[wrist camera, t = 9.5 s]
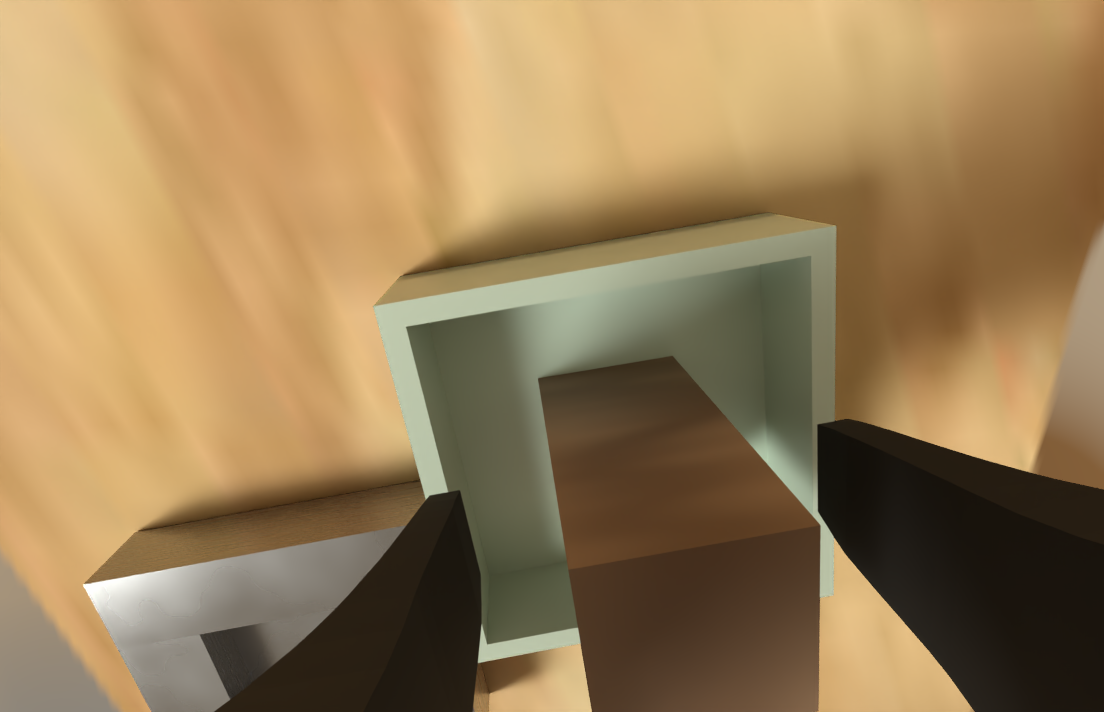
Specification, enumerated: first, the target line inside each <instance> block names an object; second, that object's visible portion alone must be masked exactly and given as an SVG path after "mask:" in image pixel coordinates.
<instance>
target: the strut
mask: <svg viewBox="0 0 1104 712" xmlns="http://www.w3.org/2000/svg"><path fill="white" fill-rule="evenodd" d="M538 383H539V389H540V396H541V402H542V408H543V414H544V421H545V427H546V433H547V439H548V446H549V452H550V458H551V465H552V471H553V477H554V483H555V490H556V496H557V502H558V509H559V515H560V521H561V527H562V534H563V540H564V546H565V553H566V559H567V565H568V571H569V577H570V583H571V589H572V595H573V601H574V607H575V613H576V619H577V625H578V631H579V637H580V643H581V649H582V655H583V661H584V666H585V672H586V678H587V684H588V690H589V696H590V702H591V708H592V712H817V711H818V699H819V619H820V540H821V525H820V524H819V523H818V522H817V520H816V519H815V518H814V517H813V516H812V515H811V514H810V512H809V511H808V510H807V509H806V508H805V507H804V506H803V504H802V503H801V502H800V501H799V500H798V499H797V497H796V496H795V495H794V494H793V493H792V492H791V491H790V489H789V488H788V487H787V486H786V485H785V484H784V483H783V481H782V480H781V479H780V478H779V477H778V476H777V475H776V473H775V472H774V471H773V470H772V469H771V468H770V467H769V465H768V464H767V463H766V462H765V461H764V460H763V459H762V457H761V456H760V455H759V454H758V453H757V452H756V451H755V449H754V448H753V447H752V446H751V445H750V444H749V443H748V441H747V440H746V439H745V438H744V437H743V436H742V435H741V433H740V432H739V431H738V430H737V429H736V428H735V427H734V425H733V424H732V423H731V422H730V421H729V420H728V419H727V417H726V416H725V415H724V414H723V413H722V412H721V411H720V409H719V408H718V407H717V406H716V405H715V404H714V403H713V401H712V400H711V399H710V398H709V397H708V396H707V395H706V393H705V392H704V391H703V390H702V389H701V388H700V387H699V385H698V384H697V383H696V382H695V381H694V380H693V379H692V377H691V376H690V375H689V374H688V373H687V372H686V371H685V369H684V368H683V367H682V366H681V365H680V364H679V363H678V361H677V360H676V359H675V358H674V357H673V356H669V357H663V358H657V359H651V360H645V361H639V362H633V363H627V364H621V365H615V366H609V367H603V368H597V369H591V370H585V371H579V372H573V373H567V374H561V375H555V376H549V377H543V378H538Z"/></svg>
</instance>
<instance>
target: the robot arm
mask: <svg viewBox="0 0 1104 712" xmlns="http://www.w3.org/2000/svg"><path fill="white" fill-rule="evenodd" d="M817 474H818V513H819V514H820V516H821V517H822V519H823V521H824V522H825V524H826V525H827V527H828V529H829V530H830V532H831V533H832V535H833V536H834V538H835V539H836V541H837V542H838V544H839V545H840V547H841V548H842V550H843V551H844V553H845V554H846V555H847V556H848V558H849V559H850V560H851V561H852V562H853V564H854V565H855V566H856V567H857V568H858V570H859V571H860V572H861V573H862V574H863V575H864V577H865V578H866V579H867V580H868V581H869V582H870V584H871V585H872V586H873V587H874V588H875V589H876V591H877V592H878V593H879V594H880V595H881V596H882V597H883V599H884V600H885V601H886V602H887V603H888V604H889V605H890V607H891V608H892V609H893V610H894V611H895V612H896V614H897V615H898V616H899V617H900V618H901V619H902V620H903V622H904V623H905V624H906V625H907V626H908V627H909V628H910V630H911V631H912V632H913V633H914V634H915V635H916V636H917V638H918V639H919V640H920V641H921V642H922V643H923V645H924V646H925V647H926V648H927V649H928V650H929V651H930V653H931V654H932V655H933V656H934V658H935V659H936V660H937V661H938V663H939V664H940V665H941V666H942V668H943V669H944V670H945V671H946V673H947V674H948V675H949V676H950V678H951V679H952V681H953V682H954V683H955V685H956V686H957V688H958V689H959V690H960V692H961V693H962V695H963V696H964V697H965V699H966V700H967V701H968V703H969V704H970V706H971V707H972V708H973V710H974V711H975V712H1104V490H1103V489H1098V488H1093V487H1089V486H1085V485H1080V484H1075V483H1070V482H1066V481H1062V480H1057V479H1053V478H1049V477H1045V476H1041V475H1037V474H1033V473H1029V472H1026V471H1022V470H1018V469H1015V468H1011V467H1008V466H1004V465H1000V464H997V463H993V462H989V461H986V460H983V459H979V458H976V457H973V456H969V455H966V454H963V453H960V452H956V451H953V450H950V449H947V448H944V447H940V446H937V445H934V444H931V443H928V442H925V441H922V440H919V439H915V438H912V437H909V436H906V435H903V434H900V433H897V432H894V431H891V430H887V429H884V428H881V427H877V426H874V425H871V424H867V423H863V422H859V421H855V420H850V419H844V420H838V421H833V422H827V423H822V424H817ZM481 625H482V600H481V573H480V569H479V565H478V561H477V557H476V553H475V549H474V545H473V541H472V537H471V532H470V528H469V524H468V520H467V516H466V512H465V508H464V504H463V500H462V496H461V492H460V490H457V491H451V492H446V493H440V494H435V495H429V497H428V498H427V499H426V500H425V502H424V503H423V504H422V505H421V507H420V508H419V509H418V511H417V512H416V513H415V515H414V516H413V517H412V519H411V520H410V521H409V523H408V524H407V525H406V526H405V528H404V529H403V530H402V532H401V533H400V534H399V536H398V537H397V538H396V539H395V541H394V542H393V543H392V545H391V546H390V547H389V548H388V550H387V551H386V552H385V553H384V555H383V556H382V557H381V558H380V560H379V561H378V562H377V563H376V564H375V565H374V566H373V568H372V569H371V570H370V571H369V572H368V573H367V574H366V576H365V577H364V578H363V579H362V580H361V581H360V582H359V583H358V585H357V586H356V587H355V588H354V589H353V590H352V591H351V593H350V594H349V595H348V596H347V597H346V598H345V599H344V600H343V601H342V602H341V603H340V604H339V605H338V606H337V607H336V608H335V609H334V610H333V611H332V612H331V613H330V614H329V615H328V616H327V617H326V618H325V619H324V620H323V621H322V622H321V623H320V624H319V625H318V626H317V627H316V628H315V629H314V630H313V631H312V632H311V633H310V634H309V635H307V636H306V637H305V638H304V639H303V640H302V641H301V642H300V643H299V644H298V645H297V646H295V647H294V648H293V649H292V650H291V651H290V652H288V653H287V654H286V655H285V656H283V657H282V658H281V659H280V660H279V661H277V662H276V663H275V664H274V665H273V666H271V667H270V668H269V669H268V670H267V671H265V672H264V673H263V674H262V675H261V676H259V677H258V678H257V679H256V680H254V681H253V682H252V683H251V684H250V685H248V686H247V687H246V688H245V689H243V690H242V691H241V692H240V693H238V694H237V695H236V696H234V697H233V698H232V699H230V700H229V701H228V702H226V703H225V704H224V705H222V706H221V707H220V708H218V709H217V710H215V711H214V712H473V703H474V694H475V684H476V675H477V665H478V656H479V646H480V636H481Z"/></svg>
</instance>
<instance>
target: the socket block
mask: <svg viewBox="0 0 1104 712" xmlns="http://www.w3.org/2000/svg"><path fill="white" fill-rule="evenodd" d="M425 500H426V499H425V495H424V491H423V488H422V484H421V480H419V481H414V482H408V483H403V484H397V485H392V486H386V487H381V488H375V489H370V490H364V491H359V492H354V493H348V494H343V495H337V496H332V497H326V498H321V499H315V500H310V501H304V502H299V503H293V504H288V505H282V506H277V507H271V508H266V509H260V510H255V511H249V512H244V513H238V514H233V515H227V516H222V517H216V518H211V519H205V520H200V521H194V522H189V523H183V524H178V525H172V526H167V527H162V528H156V529H151V530H145V531H140V532H135V533H134V534H133V535H132V536H131V537H130V538H129V539H128V540H127V541H126V542H125V543H124V544H123V545H122V546H121V547H120V548H119V549H118V550H117V551H116V552H115V553H114V554H113V555H112V556H111V557H110V558H109V559H108V560H107V561H106V562H105V563H104V564H103V565H102V566H101V567H100V568H99V569H98V570H97V571H96V572H95V573H94V574H93V575H92V576H91V577H90V578H89V579H88V580H87V581H86V582H85V583H84V584H83V586H84V587H85V589H86V591H87V593H88V595H89V597H90V599H91V600H92V602H93V604H94V606H95V608H96V610H97V612H98V613H99V615H100V617H101V619H102V621H103V623H104V625H105V626H106V628H107V630H108V632H109V634H110V636H111V638H112V639H113V641H114V643H115V645H116V647H117V649H118V651H119V652H120V654H121V656H122V658H123V660H124V662H125V664H126V665H127V667H128V669H129V671H130V673H131V675H132V677H133V678H134V680H135V682H136V684H137V686H138V688H139V690H140V691H141V693H142V695H143V697H144V699H145V701H146V703H147V704H148V706H149V708H150V710H151V712H214V711H215V710H217V709H218V708H220V707H221V706H222V705H224V704H225V703H226V702H228V701H229V700H230V699H232V698H233V697H234V696H236V695H237V694H238V693H240V692H241V691H242V690H243V689H245V688H246V687H247V686H248V685H250V684H251V683H252V682H253V681H254V680H256V679H257V678H258V677H259V676H261V675H262V674H263V673H264V672H265V671H267V670H268V669H269V668H270V667H271V666H273V665H274V664H275V663H276V662H277V661H279V660H280V659H281V658H282V657H283V656H285V655H286V654H287V653H288V652H290V651H291V650H292V649H293V648H294V647H295V646H297V645H298V644H299V643H300V642H301V641H302V640H303V639H304V638H305V637H306V636H307V635H309V634H310V633H311V632H312V631H313V630H314V629H315V628H316V627H317V626H318V625H319V624H320V623H321V622H322V621H323V620H324V619H325V618H326V617H327V616H328V615H329V614H330V613H331V612H332V611H333V610H334V609H335V608H336V607H337V606H338V605H339V604H340V603H341V602H342V601H343V600H344V599H345V598H346V597H347V596H348V595H349V594H350V593H351V591H352V590H353V589H354V588H355V587H356V586H357V585H358V583H359V582H360V581H361V580H362V579H363V578H364V577H365V576H366V574H367V573H368V572H369V571H370V570H371V569H372V568H373V566H374V565H375V564H376V563H377V562H378V561H379V560H380V558H381V557H382V556H383V555H384V553H385V552H386V551H387V550H388V548H389V547H390V546H391V545H392V543H393V542H394V541H395V539H396V538H397V537H398V536H399V534H400V533H401V532H402V530H403V529H404V528H405V526H406V525H407V524H408V523H409V521H410V520H411V519H412V517H413V516H414V515H415V513H416V512H417V511H418V509H419V508H420V507H421V505H422V504H423V503H424V502H425ZM473 712H489V692H488V689H487V685H486V681H485V677H484V674H483V670H482V666H481V663H478V665H477V675H476V684H475V694H474V703H473Z"/></svg>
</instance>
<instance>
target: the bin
mask: <svg viewBox="0 0 1104 712" xmlns="http://www.w3.org/2000/svg"><path fill="white" fill-rule="evenodd" d="M373 307H374V311H375V315H376V318H377V322H378V326H379V330H380V333H381V337H382V341H383V344H384V348H385V352H386V355H387V359H388V363H389V366H390V370H391V374H392V377H393V381H394V385H395V388H396V392H397V396H398V399H399V403H400V407H401V410H402V414H403V418H404V421H405V425H406V429H407V432H408V436H409V440H410V443H411V447H412V451H413V454H414V458H415V462H416V465H417V469H418V473H419V476H420V480H421V484H422V488H423V491H424V495H425V499H427V498H428V497H429V495H435V494H440V493H446V492H451V491H457V490H460V492H461V496H462V500H463V504H464V508H465V512H466V516H467V520H468V524H469V528H470V532H471V537H472V541H473V545H474V549H475V553H476V557H477V561H478V565H479V569H480V573H481V600H482V625H481V636H480V646H479V656H478V663H481V662H486V661H491V660H497V659H502V658H507V657H512V656H518V655H523V654H528V653H533V652H538V651H544V650H549V649H554V648H559V647H565V646H570V645H575V644H580V637H579V631H578V625H577V619H576V613H575V607H574V601H573V595H572V589H571V583H570V577H569V571H568V565H567V559H566V553H565V546H564V540H563V534H562V527H561V521H560V515H559V509H558V502H557V496H556V490H555V483H554V477H553V471H552V465H551V458H550V452H549V446H548V439H547V433H546V427H545V421H544V414H543V408H542V402H541V396H540V389H539V383H538V378H543V377H549V376H555V375H561V374H567V373H573V372H579V371H585V370H591V369H597V368H603V367H609V366H615V365H621V364H627V363H633V362H639V361H645V360H651V359H657V358H663V357H669V356H673V357H674V358H675V359H676V360H677V361H678V363H679V364H680V365H681V366H682V367H683V368H684V369H685V371H686V372H687V373H688V374H689V375H690V376H691V377H692V379H693V380H694V381H695V382H696V383H697V384H698V385H699V387H700V388H701V389H702V390H703V391H704V392H705V393H706V395H707V396H708V397H709V398H710V399H711V400H712V401H713V403H714V404H715V405H716V406H717V407H718V408H719V409H720V411H721V412H722V413H723V414H724V415H725V416H726V417H727V419H728V420H729V421H730V422H731V423H732V424H733V425H734V427H735V428H736V429H737V430H738V431H739V432H740V433H741V435H742V436H743V437H744V438H745V439H746V440H747V441H748V443H749V444H750V445H751V446H752V447H753V448H754V449H755V451H756V452H757V453H758V454H759V455H760V456H761V457H762V459H763V460H764V461H765V462H766V463H767V464H768V465H769V467H770V468H771V469H772V470H773V471H774V472H775V473H776V475H777V476H778V477H779V478H780V479H781V480H782V481H783V483H784V484H785V485H786V486H787V487H788V488H789V489H790V491H791V492H792V493H793V494H794V495H795V496H796V497H797V499H798V500H799V501H800V502H801V503H802V504H803V506H804V507H805V508H806V509H807V510H808V511H809V512H810V514H811V515H812V516H813V517H814V518H815V519H816V520H817V522H818V523H819V524H820V525H821V540H820V598H822V597H827V596H832V595H834V536H833V535H832V533H831V532H830V530H829V529H828V527H827V525H826V524H825V522H824V521H823V519H822V517H821V516H820V514H819V513H818V474H817V424H822V423H827V422H833V421H835V334H836V225H831V224H826V223H820V222H815V221H810V220H805V219H799V218H794V217H789V216H784V215H778V214H773V213H763V214H757V215H751V216H745V217H739V218H734V219H728V220H722V221H716V222H711V223H705V224H699V225H693V226H687V227H682V228H676V229H670V230H664V231H659V232H653V233H647V234H641V235H636V236H630V237H624V238H618V239H612V240H607V241H601V242H595V243H589V244H584V245H578V246H572V247H566V248H561V249H555V250H549V251H543V252H537V253H532V254H526V255H520V256H514V257H509V258H503V259H497V260H491V261H485V262H480V263H474V264H468V265H462V266H457V267H451V268H445V269H439V270H434V271H428V272H422V273H416V274H410V275H405V276H400V277H399V278H398V279H397V280H396V282H395V283H394V284H393V285H392V286H391V287H390V288H389V289H388V290H387V292H386V293H385V294H384V295H383V296H382V297H381V298H380V299H379V300H378V302H377V303H376V304H375V305H374V306H373Z"/></svg>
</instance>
